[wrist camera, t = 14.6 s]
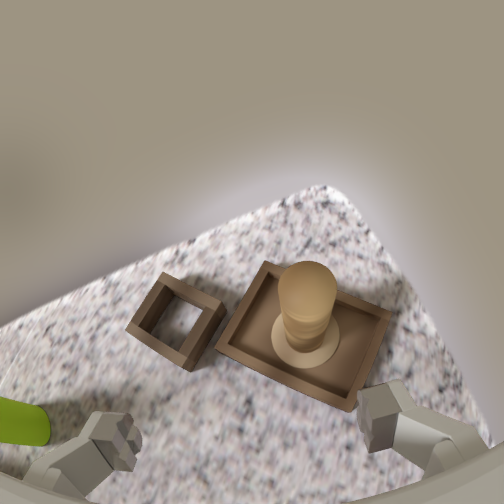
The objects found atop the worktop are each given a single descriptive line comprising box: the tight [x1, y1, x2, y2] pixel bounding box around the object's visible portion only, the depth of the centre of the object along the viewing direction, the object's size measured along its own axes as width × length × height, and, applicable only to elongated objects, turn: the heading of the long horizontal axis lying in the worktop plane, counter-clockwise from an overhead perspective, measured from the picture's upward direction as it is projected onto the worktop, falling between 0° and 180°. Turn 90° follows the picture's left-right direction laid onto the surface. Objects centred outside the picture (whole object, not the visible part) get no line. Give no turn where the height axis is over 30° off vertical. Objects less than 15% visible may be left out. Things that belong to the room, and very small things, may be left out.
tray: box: [214, 261, 392, 413], centre depth 31 cm, size 15×11×2 cm
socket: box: [125, 272, 227, 372], centre depth 33 cm, size 8×8×3 cm
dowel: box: [278, 261, 337, 353], centre depth 26 cm, size 4×4×12 cm
